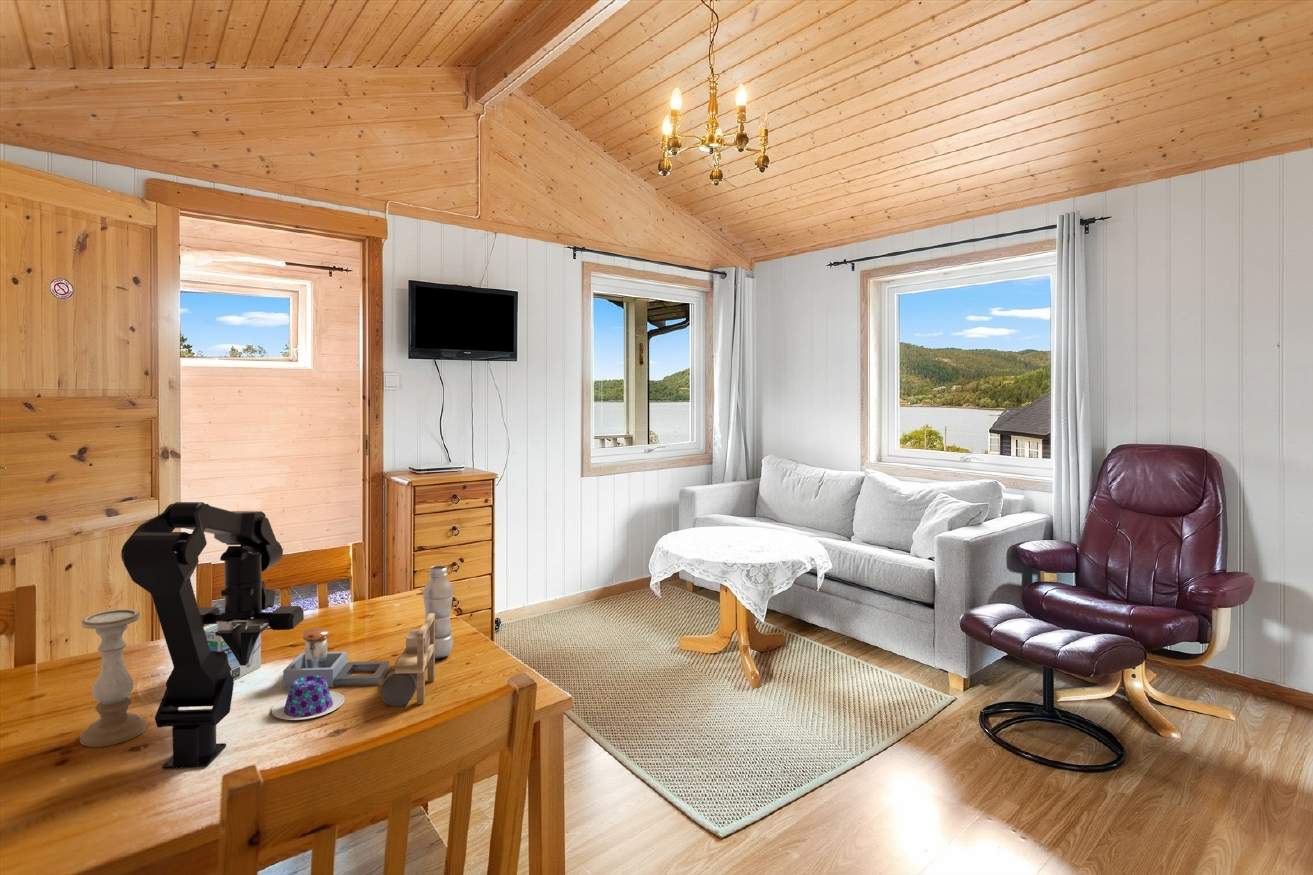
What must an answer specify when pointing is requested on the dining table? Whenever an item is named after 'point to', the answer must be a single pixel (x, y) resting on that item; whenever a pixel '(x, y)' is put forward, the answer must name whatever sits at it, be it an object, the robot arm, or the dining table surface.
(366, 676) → the collar
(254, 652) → the light bulb box
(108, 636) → the candle holder
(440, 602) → the plastic bottle
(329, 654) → the tray
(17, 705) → the dining table surface
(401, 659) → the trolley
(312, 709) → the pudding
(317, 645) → the grey brown-topped cylinder
